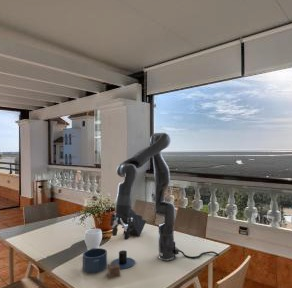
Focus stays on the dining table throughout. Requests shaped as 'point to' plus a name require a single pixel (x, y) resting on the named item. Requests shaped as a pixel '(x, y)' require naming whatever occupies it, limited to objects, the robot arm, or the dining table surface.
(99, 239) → the white vase
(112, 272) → the block
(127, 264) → the lid
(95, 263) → the pot
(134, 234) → the decorative tree
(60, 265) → the dining table surface
